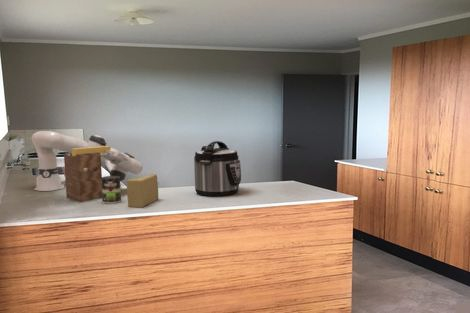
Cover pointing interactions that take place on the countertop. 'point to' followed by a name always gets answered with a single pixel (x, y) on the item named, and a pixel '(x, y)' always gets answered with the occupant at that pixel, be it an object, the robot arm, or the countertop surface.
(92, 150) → the lever bar
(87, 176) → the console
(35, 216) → the countertop surface
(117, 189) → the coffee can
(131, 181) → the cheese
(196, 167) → the pressure cooker
